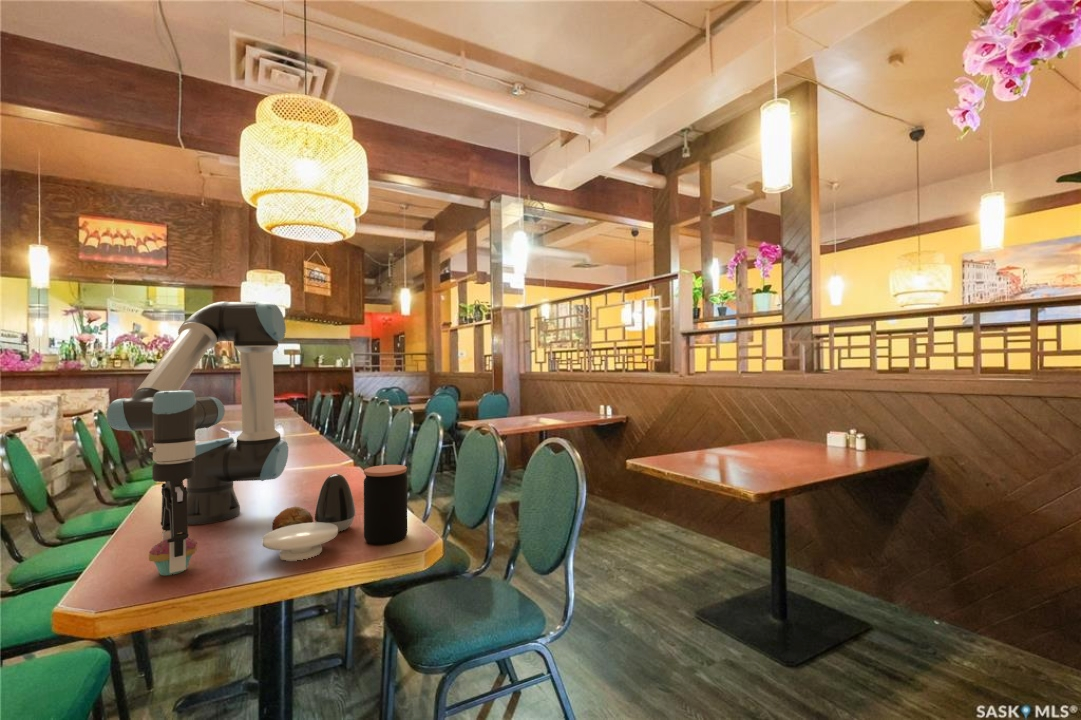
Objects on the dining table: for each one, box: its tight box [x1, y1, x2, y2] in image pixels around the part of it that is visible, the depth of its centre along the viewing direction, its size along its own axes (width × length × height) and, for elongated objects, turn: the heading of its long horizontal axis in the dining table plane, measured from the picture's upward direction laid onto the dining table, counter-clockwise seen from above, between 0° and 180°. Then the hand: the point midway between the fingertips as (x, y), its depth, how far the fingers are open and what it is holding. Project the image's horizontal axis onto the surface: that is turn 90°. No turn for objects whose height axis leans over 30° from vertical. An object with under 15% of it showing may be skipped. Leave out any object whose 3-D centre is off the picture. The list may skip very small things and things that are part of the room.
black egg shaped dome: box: [314, 473, 356, 533], centre depth 134 cm, size 10×10×15 cm
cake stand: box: [262, 521, 339, 562], centre depth 116 cm, size 16×16×5 cm
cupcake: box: [148, 533, 198, 576], centre depth 107 cm, size 9×8×12 cm
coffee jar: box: [363, 464, 408, 546], centre depth 126 cm, size 11×11×18 cm
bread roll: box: [271, 506, 314, 531], centre depth 135 cm, size 10×10×8 cm
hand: (173, 565), depth 107 cm, fingers closed on cupcake, 8 cm apart
